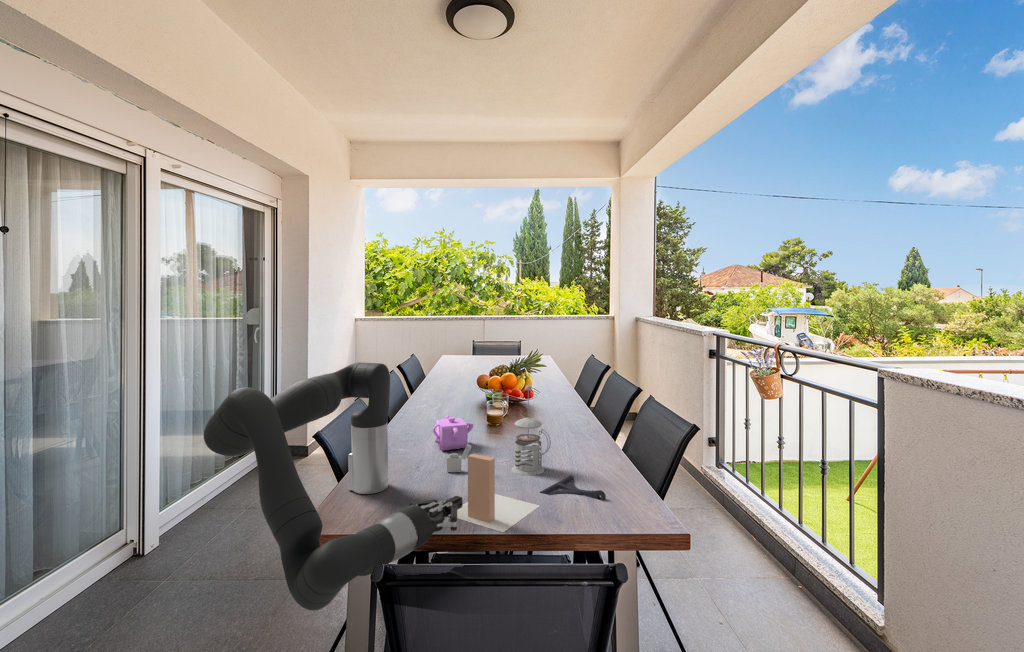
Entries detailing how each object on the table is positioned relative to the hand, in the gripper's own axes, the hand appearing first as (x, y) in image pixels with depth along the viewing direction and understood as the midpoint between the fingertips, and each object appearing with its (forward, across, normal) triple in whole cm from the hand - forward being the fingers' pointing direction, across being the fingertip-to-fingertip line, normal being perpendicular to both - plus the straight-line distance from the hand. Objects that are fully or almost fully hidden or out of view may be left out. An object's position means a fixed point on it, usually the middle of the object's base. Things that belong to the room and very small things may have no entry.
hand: (459, 500), depth 105 cm
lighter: (+30, -24, -8) cm, 39 cm away
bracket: (+34, +12, -8) cm, 37 cm away
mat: (+13, 0, -7) cm, 15 cm away
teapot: (+48, -41, -8) cm, 64 cm away
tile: (+8, 0, -7) cm, 10 cm away
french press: (+42, -7, -8) cm, 44 cm away
